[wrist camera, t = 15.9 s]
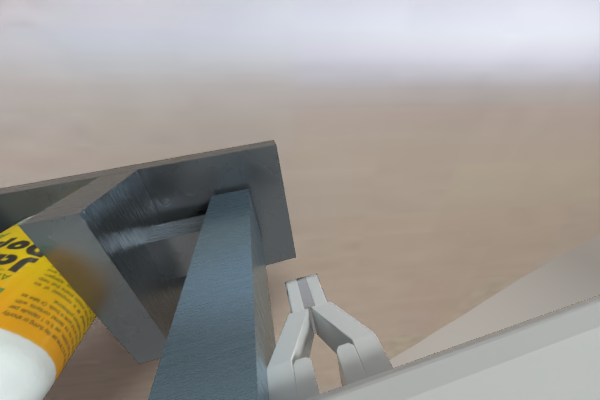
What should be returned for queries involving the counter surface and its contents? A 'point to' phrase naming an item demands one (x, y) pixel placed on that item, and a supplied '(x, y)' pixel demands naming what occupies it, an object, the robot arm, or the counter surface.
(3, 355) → the supplement bottle
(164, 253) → the sliding jaw
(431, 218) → the counter surface
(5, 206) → the vise base
